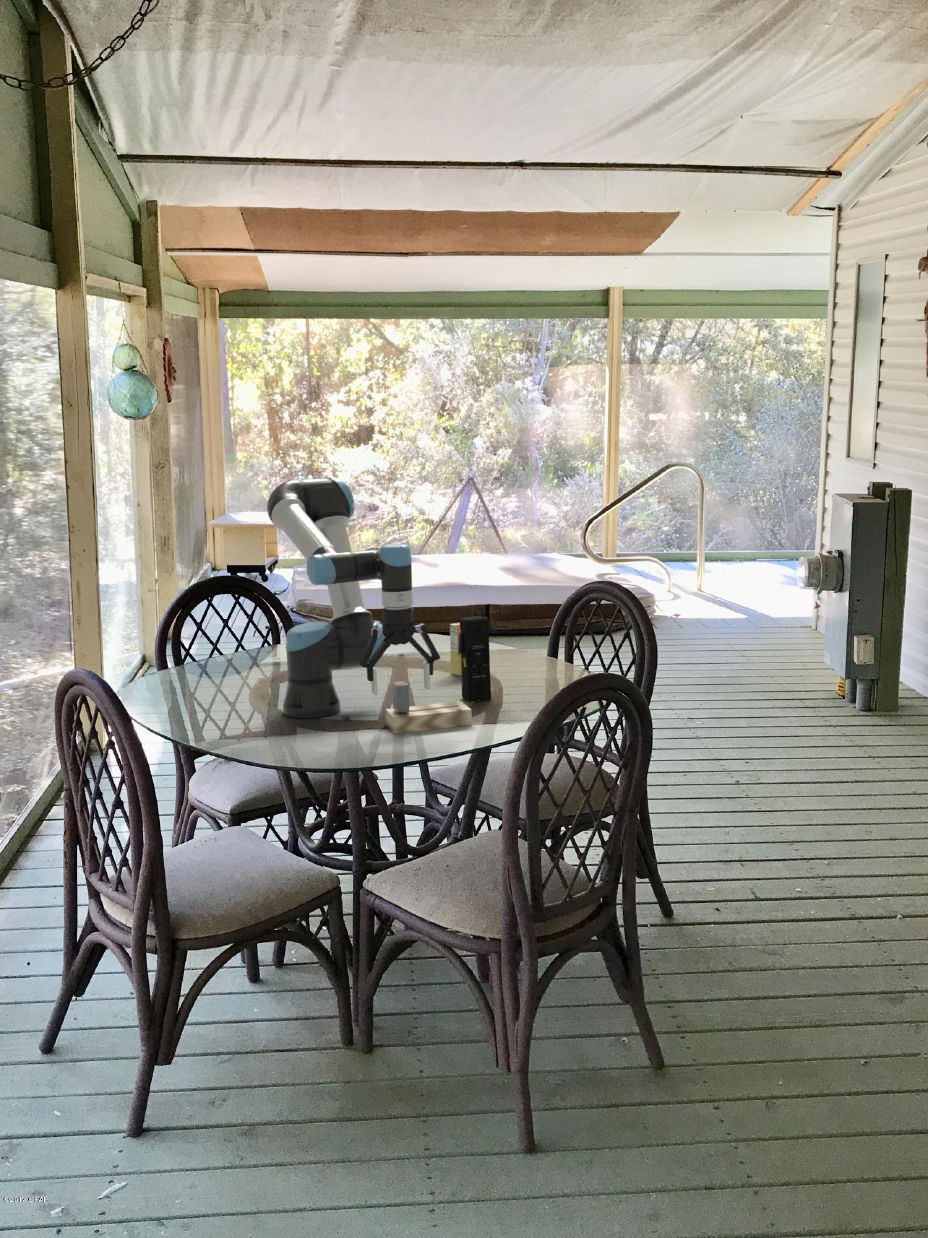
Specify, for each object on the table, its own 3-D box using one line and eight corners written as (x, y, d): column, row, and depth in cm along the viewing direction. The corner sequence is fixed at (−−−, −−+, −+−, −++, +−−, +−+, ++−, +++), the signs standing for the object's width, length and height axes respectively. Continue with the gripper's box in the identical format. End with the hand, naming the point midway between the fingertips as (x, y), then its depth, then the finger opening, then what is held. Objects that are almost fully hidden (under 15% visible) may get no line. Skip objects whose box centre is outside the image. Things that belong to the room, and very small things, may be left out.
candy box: (473, 669, 351) (471, 619, 348) (482, 671, 348) (480, 621, 345) (450, 674, 345) (449, 623, 343) (459, 676, 342) (457, 625, 339)
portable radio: (466, 703, 311) (463, 612, 306) (457, 698, 316) (454, 609, 312) (492, 700, 314) (490, 609, 309) (483, 695, 319) (481, 606, 315)
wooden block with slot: (395, 733, 284) (394, 717, 284) (386, 724, 293) (385, 708, 292) (471, 724, 291) (471, 708, 290) (460, 716, 299) (460, 700, 298)
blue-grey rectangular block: (397, 713, 286) (396, 686, 285) (393, 709, 290) (392, 682, 289) (409, 712, 287) (408, 684, 286) (405, 708, 291) (404, 681, 290)
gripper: (351, 613, 276) (355, 699, 280) (450, 605, 284) (453, 688, 288) (344, 608, 283) (348, 692, 287) (441, 600, 291) (444, 682, 295)
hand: (401, 691), depth 287 cm, fingers open, 13 cm apart
